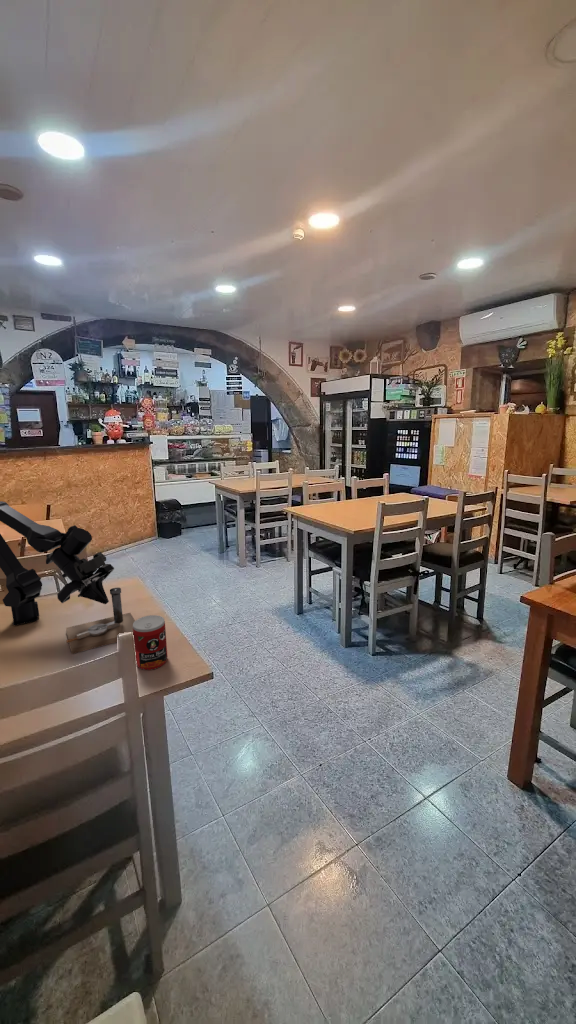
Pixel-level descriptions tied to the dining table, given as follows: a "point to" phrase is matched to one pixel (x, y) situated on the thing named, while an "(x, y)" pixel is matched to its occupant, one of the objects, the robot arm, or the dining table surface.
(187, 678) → the dining table surface
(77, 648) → the stand
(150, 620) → the canned food
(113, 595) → the crank handle
